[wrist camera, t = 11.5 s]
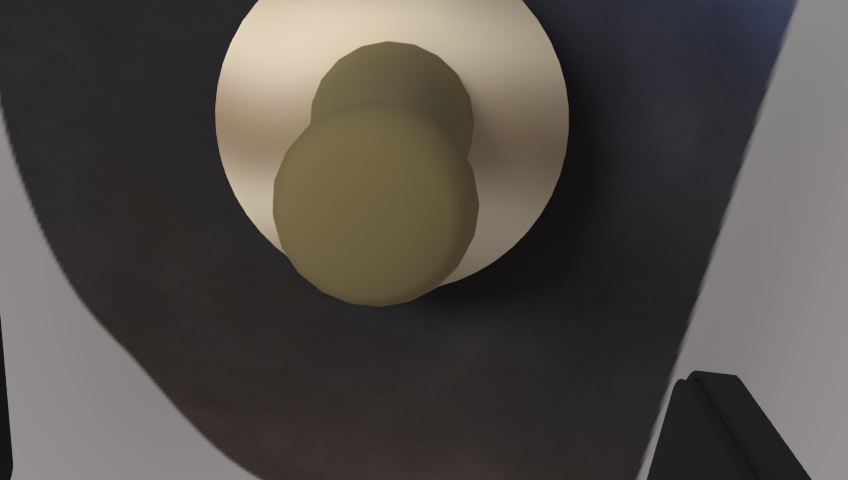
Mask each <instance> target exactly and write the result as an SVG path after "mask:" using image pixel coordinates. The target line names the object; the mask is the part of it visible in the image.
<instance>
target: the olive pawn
mask: <svg viewBox="0 0 848 480" xmlns="http://www.w3.org/2000/svg"><path fill="white" fill-rule="evenodd" d="M473 128H474V118H473V112H472V107H471V101H470V97H469V95H468V93H467V91H466V89H465V87H464V85H463V83H462V82H461V80H460V78H459V76H458V74H457V73H456V72H455V71H454V70H453V69H452V68H451V67H449V66H448V65H447V64H446V63H445V62H444V61H443V60H442V59H441V58H440V57H439V56H438V55H435V54H433V53H431V52H429V51H427V50H425V49H423V48H421V47H419V46H417V45H414V44H407V43H399V42H391V41H385V42H380V43H375V44H370V45H365V46H361V47H359V48H358V49H356V50H354V51H353V52H351V53H349V54H347V55H346V56H344V57H342V58H340V59H339V60H338V61H337V62H336V63H335V64H334V65H333V67H332V68H331V69H330V70H329V71H328V72H327V73H326V75H325V76H324V77H323V78H322V79H321V82H320V84H319V87H318V89H317V91H316V94H315V96H314V99H313V101H312V107H311V121H310V125H309V126H308V127H307V128H306V129H305V130H304V131H303V133H302V134H301V135H300V136H299V137H298V138H297V139H296V140H295V142H294V143H293V144H292V145H291V146H290V147H289V149H288V150H287V151H286V153H285V156H284V158H283V161H282V163H281V165H280V168H279V170H278V173H277V175H276V178H275V180H274V193H273V211H272V212H273V218H274V222H275V225H276V229H277V233H278V236H279V240H280V243H281V247H282V249H283V250H284V252H285V253H286V255H287V256H288V258H289V259H290V261H291V262H292V264H293V265H294V267H295V268H296V270H297V271H298V273H300V274H301V275H302V276H303V277H304V278H306V279H307V280H308V281H309V282H311V283H312V284H313V285H314V286H316V287H317V288H318V289H319V290H320V291H322V292H324V293H326V294H329V295H331V296H333V297H336V298H338V299H341V300H343V301H346V302H348V303H351V304H360V305H369V306H378V307H381V306H387V305H393V304H398V303H404V302H410V301H412V300H414V299H416V298H418V297H420V296H422V295H424V294H426V293H428V292H430V291H432V290H434V289H436V288H437V287H438V286H439V285H440V284H441V283H442V282H443V281H444V280H445V279H446V278H447V277H448V276H449V275H450V274H451V273H452V272H453V271H454V270H455V269H457V267H458V266H459V264H460V262H461V261H462V259H463V257H464V255H465V253H466V251H467V249H468V247H469V245H470V243H471V241H472V240H473V238H474V236H475V231H476V224H477V218H478V211H479V199H478V194H477V188H476V183H475V177H474V172H473V169H472V166H471V165H470V163H469V161H468V159H467V157H468V154H469V151H470V148H471V141H472V135H473Z"/></svg>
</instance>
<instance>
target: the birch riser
mask: <svg viewBox="0 0 848 480" xmlns="http://www.w3.org/2000/svg"><path fill="white" fill-rule="evenodd" d="M385 41H391V42H399V43H407V44H414V45H417V46H419V47H421V48H423V49H425V50H427V51H429V52H431V53H433V54H435V55H438V56H439V57H440V58H441V59H442V60H443V61H444V62H445V63H446V64H447V65H448V66H449V67H451V68H452V69H453V70H454V71H455V72H456V73H457V74H458V76H459V78H460V80H461V82H462V83H463V85H464V87H465V89H466V91H467V93H468V95H469V97H470V101H471V107H472V112H473V118H474V128H473V135H472V141H471V148H470V151H469V154H468V157H467V159H468V161H469V163H470V165H471V166H472V169H473V172H474V177H475V183H476V188H477V194H478V199H479V211H478V218H477V224H476V231H475V236H474V238H473V240H472V241H471V243H470V245H469V247H468V249H467V251H466V253H465V255H464V257H463V259H462V261H461V262H460V264H459V266H458V267H457V269H455V270H454V271H453V272H452V273H451V274H450V275H449V276H448V277H447V278H446V279H445V280H444V281H443V282H442V283H441V284H440V285H439V286H442V285H445V284H448V283H451V282H454V281H458V280H460V279H462V278H464V277H467V276H469V275H471V274H473V273H475V272H478V271H479V270H481V269H482V268H484V267H486V266H487V265H489V264H491V263H492V262H494V261H496V260H497V259H498V258H499V257H501V256H502V255H503V254H504V253H506V252H507V251H508V250H510V249H511V248H512V247H513V246H514V245H515V244H516V243H517V242H518V241H519V240H520V239H521V238H522V237H523V236H524V235H525V234H526V233H527V232H528V230H529V229H530V228H531V227H532V225H533V224H534V223H535V221H536V220H537V219H538V217H539V216H540V215H541V213H542V211H543V210H544V208H545V206H546V204H547V203H548V201H549V199H550V197H551V196H552V193H553V191H554V188H555V186H556V184H557V181H558V179H559V176H560V173H561V170H562V166H563V162H564V158H565V155H566V148H567V141H568V133H569V106H568V99H567V92H566V85H565V81H564V77H563V74H562V70H561V67H560V63H559V60H558V58H557V56H556V53H555V51H554V49H553V46H552V44H551V42H550V40H549V38H548V36H547V35H546V33H545V31H544V30H543V28H542V26H541V25H540V23H539V21H538V20H537V18H536V17H535V16H534V15H533V13H532V12H531V11H530V10H529V8H528V7H527V6H526V5H525V3H524V2H523V1H522V0H259V1H258V2H257V3H256V4H255V6H254V7H253V8H252V10H251V11H250V12H249V14H248V15H247V16H246V18H245V19H244V20H243V22H242V24H241V25H240V27H239V29H238V31H237V33H236V34H235V36H234V38H233V40H232V42H231V44H230V47H229V49H228V52H227V54H226V57H225V60H224V62H223V66H222V70H221V74H220V78H219V82H218V87H217V98H216V108H215V113H216V134H217V140H218V146H219V152H220V156H221V159H222V163H223V166H224V169H225V172H226V176H227V178H228V180H229V182H230V185H231V187H232V189H233V191H234V194H235V196H236V198H237V199H238V201H239V202H240V204H241V206H242V207H243V209H244V211H245V212H246V214H247V215H248V217H249V218H250V219H251V220H252V222H253V223H254V224H255V225H256V227H257V228H258V229H259V230H260V232H261V233H262V234H263V235H264V236H265V237H266V238H267V239H268V240H269V241H270V242H271V243H272V244H273V245H274V246H275V247H276V248H278V249H279V250H280V251H282V252H283V253H284V254H286V253H285V252H284V250H283V249H282V247H281V243H280V240H279V236H278V233H277V229H276V225H275V222H274V218H273V212H272V211H273V193H274V180H275V178H276V175H277V173H278V170H279V168H280V165H281V163H282V161H283V158H284V156H285V153H286V151H287V150H288V149H289V147H290V146H291V145H292V144H293V143H294V142H295V140H296V139H297V138H298V137H299V136H300V135H301V134H302V133H303V131H304V130H305V129H306V128H307V127H308V126H309V125H310V121H311V107H312V101H313V99H314V96H315V94H316V91H317V89H318V87H319V84H320V82H321V79H322V78H323V77H324V76H325V75H326V73H327V72H328V71H329V70H330V69H331V68H332V67H333V65H334V64H335V63H336V62H337V61H338V60H339V59H340V58H342V57H344V56H346V55H347V54H349V53H351V52H353V51H354V50H356V49H358V48H359V47H361V46H365V45H370V44H375V43H380V42H385Z"/></svg>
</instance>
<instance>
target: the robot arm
mask: <svg viewBox="0 0 848 480" xmlns="http://www.w3.org/2000/svg"><path fill="white" fill-rule="evenodd" d="M12 470H13V457H12V446H11V434H10V423H9V411H8V399H7V388H6V376H5V366H4V353H3V342H2V331H1V318H0V480H10V479H11V475H12ZM647 480H811V478H810V477H809V475H808V474H807V472H806V471H805V470H804V469H803V467H802V465H801V464H800V463H799V461H798V460H797V459H796V457H795V456H794V454H793V453H792V452H791V450H790V449H789V447H788V446H787V444H786V443H785V442H784V440H783V439H782V437H781V436H780V434H779V433H778V432H777V431H776V429H775V427H774V426H773V425H772V423H771V422H770V420H769V419H768V418H767V416H766V415H765V413H764V412H763V411H762V409H761V408H760V406H759V405H758V404H757V402H756V401H755V399H754V398H753V397H752V395H751V394H750V392H749V391H748V390H747V388H746V387H745V385H744V384H743V382H742V381H741V380H740V379H739V378H738V377H737V376H736V375H729V374H721V373H712V372H704V371H693V372H692V373H691V374H690V375H689V376H688V378H687V380H683V379H679V380H678V381H677V382H676V383H675V386H674V388H673V391H672V395H671V398H670V402H669V405H668V408H667V412H666V415H665V419H664V422H663V425H662V429H661V433H660V436H659V439H658V443H657V446H656V450H655V453H654V457H653V460H652V463H651V467H650V470H649V474H648V478H647Z"/></svg>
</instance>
